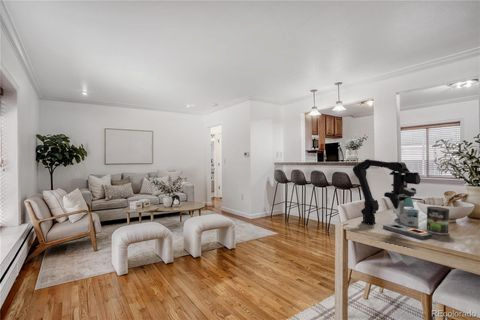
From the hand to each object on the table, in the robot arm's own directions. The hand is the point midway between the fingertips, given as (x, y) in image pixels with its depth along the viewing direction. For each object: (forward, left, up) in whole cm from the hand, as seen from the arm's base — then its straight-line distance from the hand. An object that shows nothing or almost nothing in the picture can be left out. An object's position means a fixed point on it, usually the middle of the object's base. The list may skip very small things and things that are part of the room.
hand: (398, 208), depth 146 cm
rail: (+5, 0, -13) cm, 14 cm away
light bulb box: (-5, +20, -13) cm, 25 cm away
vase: (-13, +30, -13) cm, 35 cm away
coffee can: (+12, +18, -13) cm, 25 cm away
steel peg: (0, 0, -3) cm, 3 cm away
